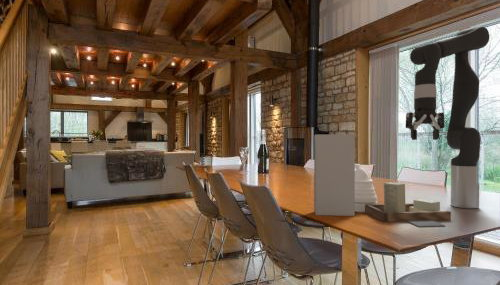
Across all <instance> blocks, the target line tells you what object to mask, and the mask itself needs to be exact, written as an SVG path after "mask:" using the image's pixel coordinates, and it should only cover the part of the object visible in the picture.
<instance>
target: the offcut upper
mask: <svg viewBox="0 0 500 285" xmlns="http://www.w3.org/2000/svg"><path fill="white" fill-rule="evenodd" d="M412 200H413V203H412V204H413V208H417V209H422V210H427V211H437V210H440V211H441V201H438V200H432V199H431V200H430V199H427V198H426V199H425V198H419V199H412Z"/></svg>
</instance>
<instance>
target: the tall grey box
mask: <svg viewBox="0 0 500 285" xmlns="http://www.w3.org/2000/svg"><path fill="white" fill-rule="evenodd" d="M313 141H314V142H313V143H314V144H313V145H314V149H313V150H314V154H313V155H314V156H313V157H314V159H313V160H314V163H313V164H314V169H313V170H314V171H313V172H314V173H313V174H314V176H313V177H314V178H313V179H314V180H313V181H314V182H313V186H314V187H313V190H314V191H313V194H314V195H313V196H314V197H313V199H314V200H313V201H314V202H313V212H314V213H315V215H316V216H341V217H343V216H345V217H346V216H347V217H348V216H349V217H355V212H356V211H355V171H356V168H355V164H356V162H355V161H356V158H355V156H356V135H355V134H314V139H313Z"/></svg>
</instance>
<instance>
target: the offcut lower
mask: <svg viewBox="0 0 500 285" xmlns="http://www.w3.org/2000/svg"><path fill="white" fill-rule="evenodd" d="M425 211H427V210H422V209H417V208H413V207H410V208H409V212H425ZM437 211H441V209H440V210H437Z"/></svg>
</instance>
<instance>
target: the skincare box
mask: <svg viewBox="0 0 500 285" xmlns="http://www.w3.org/2000/svg"><path fill="white" fill-rule="evenodd" d="M383 204H384V211H385V212H406V210H405V204H406V184H405V183H402V182H401V183H400V182H393V181H390V182H383Z"/></svg>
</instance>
